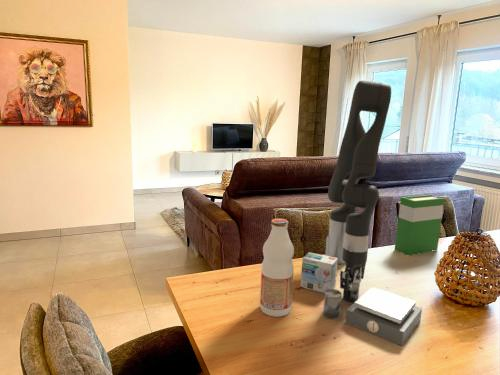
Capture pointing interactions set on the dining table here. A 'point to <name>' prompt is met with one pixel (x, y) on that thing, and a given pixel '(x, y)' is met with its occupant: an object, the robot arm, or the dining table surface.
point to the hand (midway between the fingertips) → (350, 295)
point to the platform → (385, 304)
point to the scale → (384, 324)
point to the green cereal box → (419, 224)
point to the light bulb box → (318, 272)
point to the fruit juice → (277, 271)
